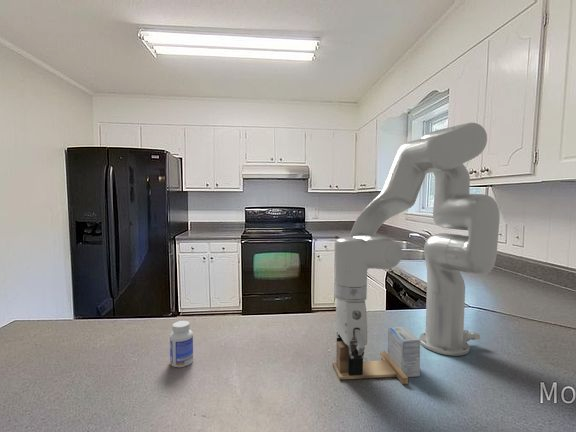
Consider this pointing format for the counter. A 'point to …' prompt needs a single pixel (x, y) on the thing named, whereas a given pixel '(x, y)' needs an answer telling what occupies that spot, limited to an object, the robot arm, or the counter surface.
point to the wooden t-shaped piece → (367, 366)
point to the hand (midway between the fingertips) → (348, 363)
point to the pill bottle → (181, 344)
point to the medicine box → (404, 350)
